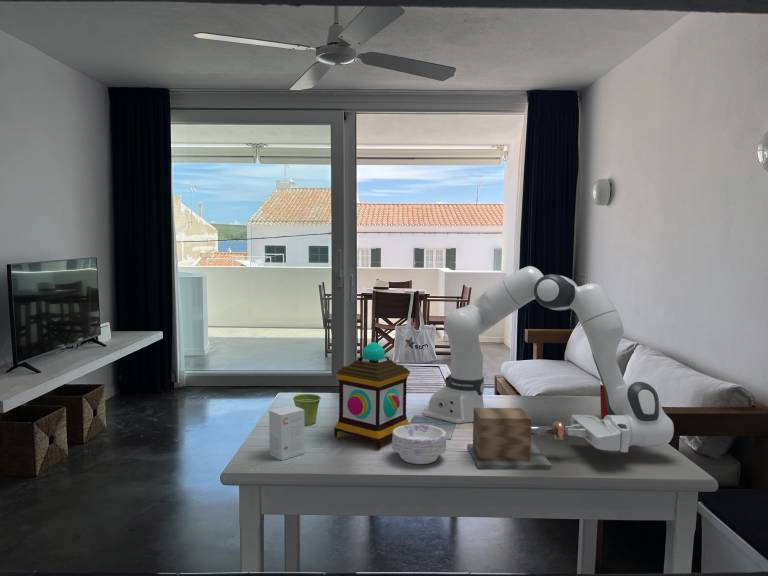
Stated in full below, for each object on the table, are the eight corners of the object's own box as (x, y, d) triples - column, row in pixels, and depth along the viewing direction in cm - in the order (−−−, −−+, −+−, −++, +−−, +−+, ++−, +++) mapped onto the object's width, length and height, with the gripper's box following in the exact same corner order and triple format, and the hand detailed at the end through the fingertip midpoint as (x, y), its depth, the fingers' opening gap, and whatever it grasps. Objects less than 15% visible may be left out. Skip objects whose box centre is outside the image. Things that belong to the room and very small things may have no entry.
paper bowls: (427, 445, 168) (428, 420, 167) (456, 463, 154) (457, 435, 154) (382, 453, 161) (382, 426, 160) (408, 473, 147) (409, 443, 147)
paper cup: (623, 424, 191) (625, 383, 190) (599, 422, 192) (601, 382, 191) (618, 417, 198) (620, 378, 197) (596, 415, 200) (597, 377, 199)
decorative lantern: (366, 422, 189) (367, 335, 186) (416, 434, 177) (418, 341, 175) (327, 439, 172) (328, 343, 170) (379, 453, 161) (380, 350, 159)
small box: (292, 447, 164) (292, 404, 164) (305, 453, 160) (305, 409, 159) (268, 454, 159) (268, 409, 158) (280, 461, 154) (280, 415, 153)
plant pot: (317, 417, 194) (317, 392, 193) (323, 425, 185) (323, 400, 184) (290, 419, 191) (290, 394, 190) (295, 428, 182) (295, 402, 181)
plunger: (558, 435, 162) (558, 418, 161) (565, 442, 156) (566, 425, 155) (499, 435, 161) (499, 418, 161) (504, 442, 155) (505, 425, 155)
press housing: (533, 447, 167) (535, 405, 166) (551, 469, 151) (553, 422, 150) (467, 447, 166) (468, 404, 165) (478, 469, 150) (479, 421, 149)
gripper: (599, 409, 169) (554, 409, 169) (631, 431, 149) (580, 431, 148) (598, 429, 170) (553, 429, 169) (630, 454, 149) (579, 454, 149)
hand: (566, 430), depth 159 cm, fingers closed
